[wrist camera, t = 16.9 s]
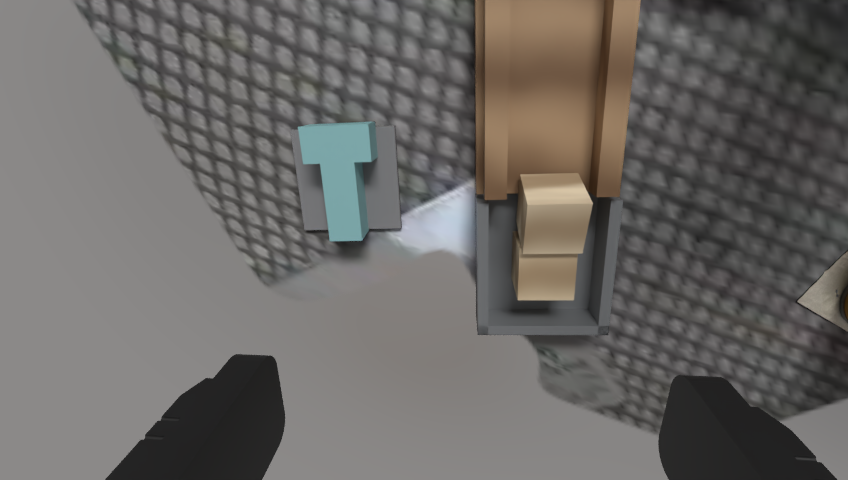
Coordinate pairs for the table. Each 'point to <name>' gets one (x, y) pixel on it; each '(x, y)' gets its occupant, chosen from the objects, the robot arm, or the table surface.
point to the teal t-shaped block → (341, 172)
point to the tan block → (542, 274)
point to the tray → (544, 316)
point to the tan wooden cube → (552, 213)
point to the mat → (377, 183)
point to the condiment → (830, 294)
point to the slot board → (552, 91)
